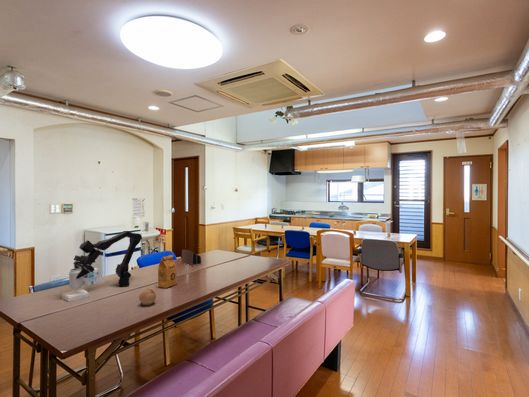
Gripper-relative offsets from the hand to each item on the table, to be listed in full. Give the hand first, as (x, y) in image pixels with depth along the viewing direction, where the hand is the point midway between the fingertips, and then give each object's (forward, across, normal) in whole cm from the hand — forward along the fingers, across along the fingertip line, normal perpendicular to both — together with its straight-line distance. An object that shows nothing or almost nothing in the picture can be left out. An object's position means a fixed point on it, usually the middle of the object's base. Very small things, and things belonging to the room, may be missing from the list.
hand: (73, 277), depth 192 cm
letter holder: (-66, -16, +87) cm, 110 cm away
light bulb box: (-5, -26, +24) cm, 36 cm away
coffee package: (-26, +27, +46) cm, 59 cm away
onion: (-6, +48, +25) cm, 54 cm away
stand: (+8, -2, +10) cm, 13 cm away
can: (+4, 0, +6) cm, 7 cm away
